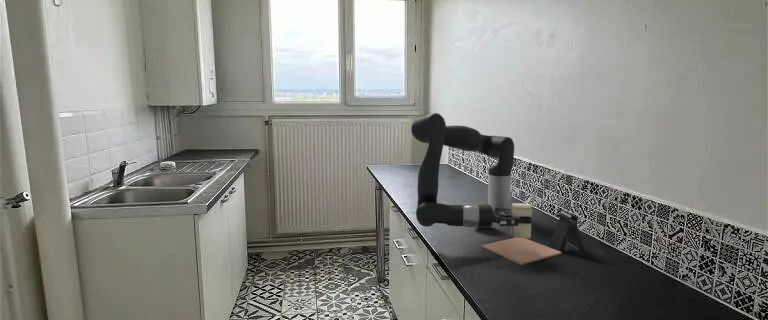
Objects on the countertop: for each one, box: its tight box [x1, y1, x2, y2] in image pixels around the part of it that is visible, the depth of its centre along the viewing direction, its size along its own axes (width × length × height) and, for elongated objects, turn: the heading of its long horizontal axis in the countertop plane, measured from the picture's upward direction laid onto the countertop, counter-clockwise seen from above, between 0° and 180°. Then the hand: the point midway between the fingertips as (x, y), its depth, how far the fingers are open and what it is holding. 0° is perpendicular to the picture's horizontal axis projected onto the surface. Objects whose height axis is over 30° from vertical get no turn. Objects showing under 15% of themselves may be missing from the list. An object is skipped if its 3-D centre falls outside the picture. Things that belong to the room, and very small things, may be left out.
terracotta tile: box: [480, 237, 563, 266], centre depth 148 cm, size 18×18×1 cm
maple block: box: [510, 202, 533, 239], centre depth 147 cm, size 5×5×10 cm
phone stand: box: [549, 210, 585, 253], centre depth 149 cm, size 9×6×12 cm, turn 99°
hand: (529, 217), depth 146 cm, fingers closed on maple block, 5 cm apart
